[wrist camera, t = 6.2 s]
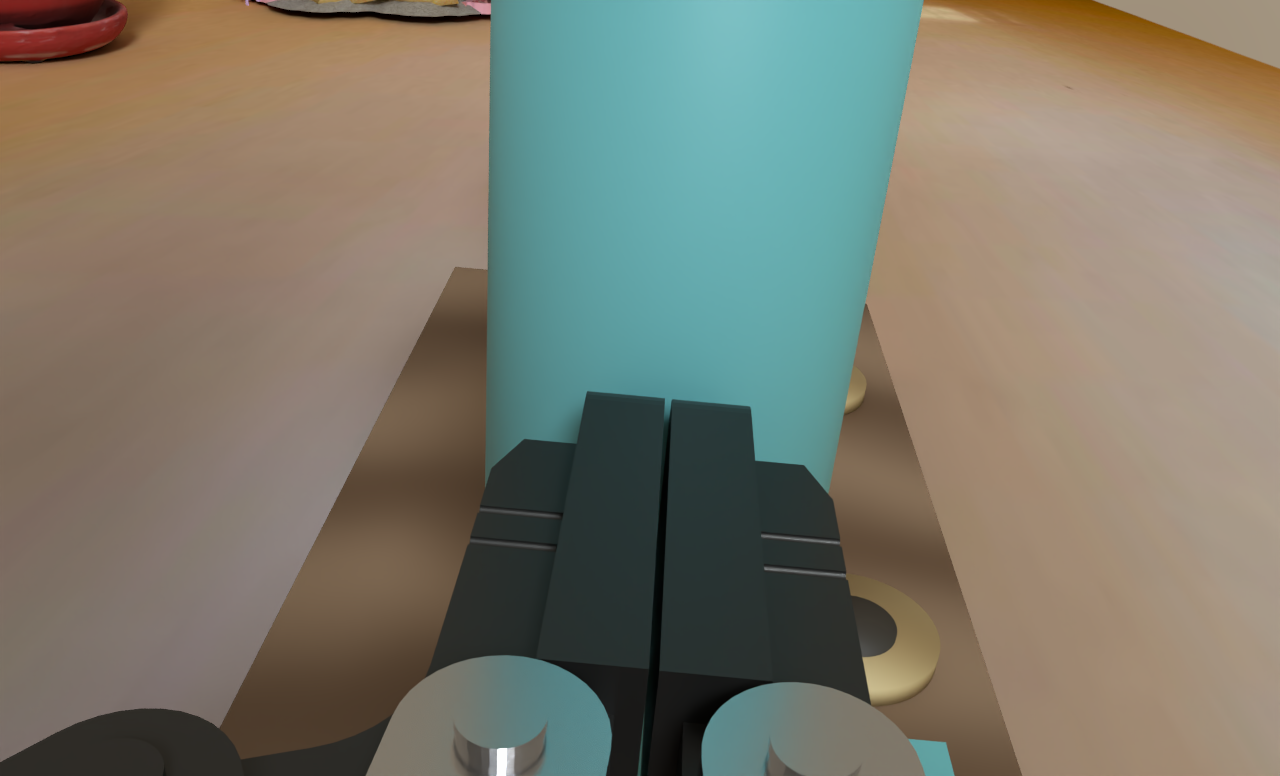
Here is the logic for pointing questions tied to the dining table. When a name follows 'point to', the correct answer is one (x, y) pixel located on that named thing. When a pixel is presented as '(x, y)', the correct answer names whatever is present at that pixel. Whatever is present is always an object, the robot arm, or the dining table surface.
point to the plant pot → (57, 27)
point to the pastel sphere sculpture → (388, 6)
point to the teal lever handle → (688, 212)
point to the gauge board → (440, 531)
